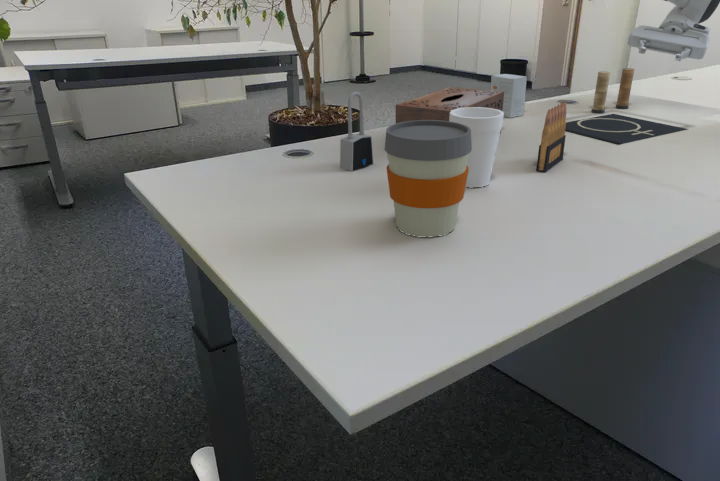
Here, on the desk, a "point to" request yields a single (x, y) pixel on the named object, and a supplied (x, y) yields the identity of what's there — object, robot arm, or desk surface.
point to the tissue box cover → (447, 103)
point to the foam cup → (480, 141)
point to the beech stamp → (625, 88)
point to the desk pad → (619, 128)
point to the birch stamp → (601, 92)
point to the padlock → (356, 143)
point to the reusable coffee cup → (427, 174)
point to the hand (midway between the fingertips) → (659, 54)
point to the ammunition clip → (552, 138)
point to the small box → (511, 93)
